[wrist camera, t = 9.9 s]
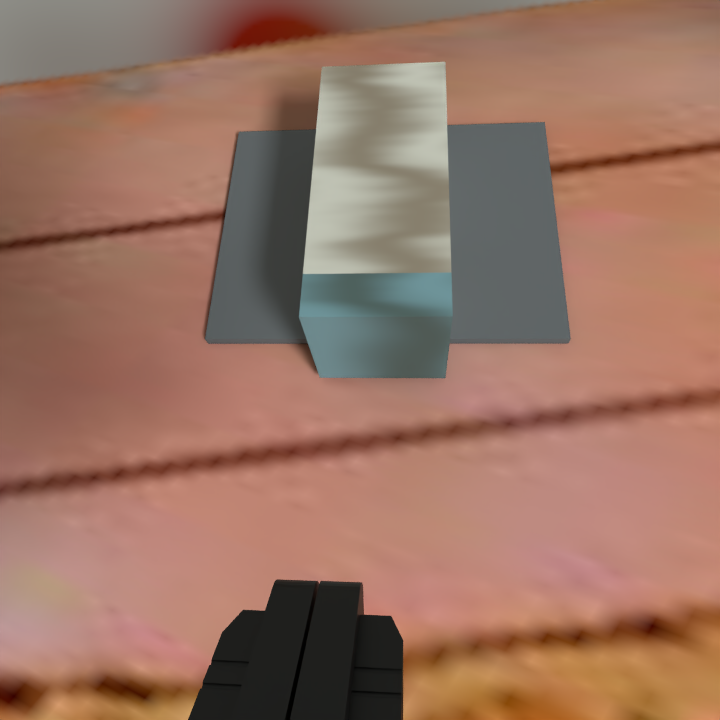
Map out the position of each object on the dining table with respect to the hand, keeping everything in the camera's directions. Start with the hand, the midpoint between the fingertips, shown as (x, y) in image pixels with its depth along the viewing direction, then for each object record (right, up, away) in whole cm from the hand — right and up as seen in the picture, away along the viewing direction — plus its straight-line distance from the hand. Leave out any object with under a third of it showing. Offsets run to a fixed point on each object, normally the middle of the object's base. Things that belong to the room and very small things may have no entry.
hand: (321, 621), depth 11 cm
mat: (+2, +12, +23) cm, 26 cm away
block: (+1, +5, +16) cm, 17 cm away
